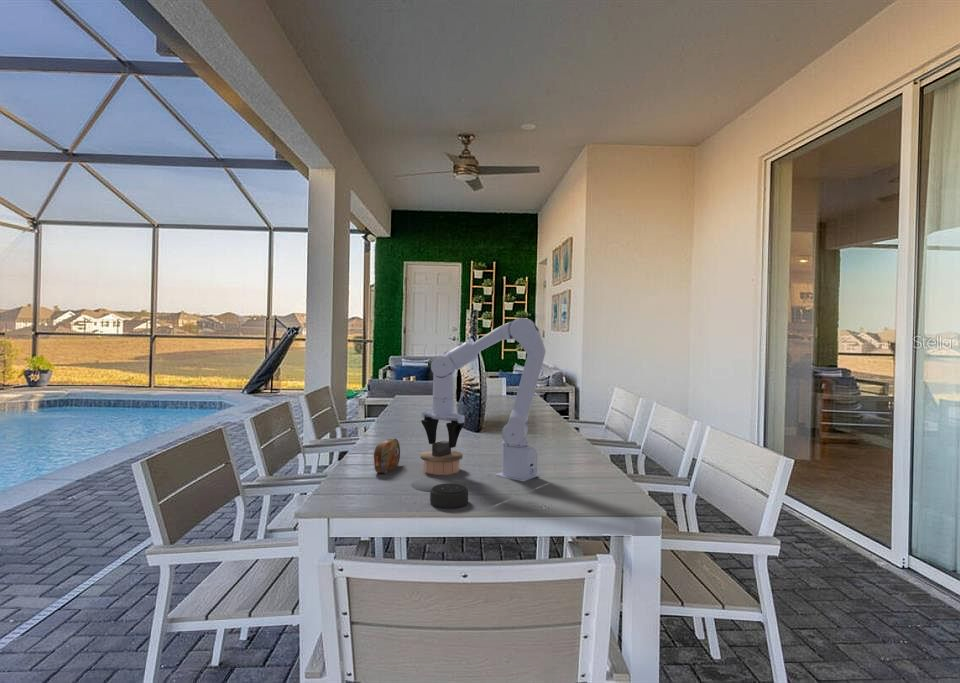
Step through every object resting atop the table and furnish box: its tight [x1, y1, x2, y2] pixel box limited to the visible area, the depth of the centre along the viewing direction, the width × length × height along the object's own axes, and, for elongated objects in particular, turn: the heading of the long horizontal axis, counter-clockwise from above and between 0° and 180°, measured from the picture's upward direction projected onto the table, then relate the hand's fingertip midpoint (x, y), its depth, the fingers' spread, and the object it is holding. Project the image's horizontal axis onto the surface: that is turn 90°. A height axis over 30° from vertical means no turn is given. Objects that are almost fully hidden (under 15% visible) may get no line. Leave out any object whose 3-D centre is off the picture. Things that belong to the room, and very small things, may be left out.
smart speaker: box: [429, 484, 469, 510], centre depth 133 cm, size 9×9×4 cm
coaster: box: [410, 476, 466, 493], centre depth 148 cm, size 14×14×1 cm
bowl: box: [423, 460, 461, 476], centre depth 163 cm, size 10×10×4 cm
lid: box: [419, 440, 463, 462], centre depth 163 cm, size 12×12×4 cm
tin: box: [373, 438, 401, 474], centre depth 164 cm, size 15×3×8 cm, turn 168°
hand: (442, 445), depth 163 cm, fingers open, 7 cm apart
